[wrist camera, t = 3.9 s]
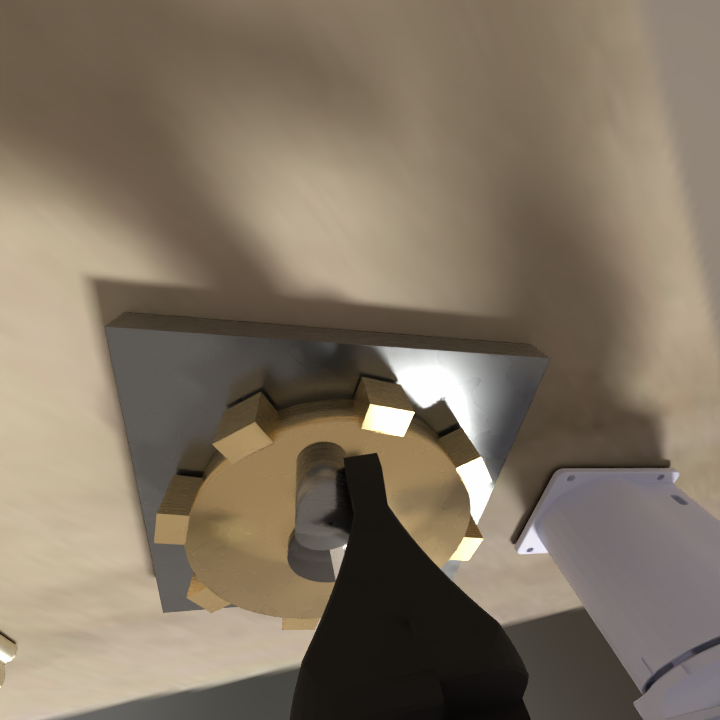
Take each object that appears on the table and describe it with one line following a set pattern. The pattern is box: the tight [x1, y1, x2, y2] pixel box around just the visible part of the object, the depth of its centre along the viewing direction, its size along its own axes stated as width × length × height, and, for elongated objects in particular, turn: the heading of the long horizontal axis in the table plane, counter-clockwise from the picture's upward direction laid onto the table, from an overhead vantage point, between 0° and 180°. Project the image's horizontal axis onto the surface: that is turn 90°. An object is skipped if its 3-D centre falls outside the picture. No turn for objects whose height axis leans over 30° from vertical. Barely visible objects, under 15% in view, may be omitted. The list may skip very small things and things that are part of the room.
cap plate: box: [105, 312, 551, 613], centre depth 18 cm, size 18×18×2 cm
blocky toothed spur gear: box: [154, 377, 492, 630], centre depth 15 cm, size 15×15×5 cm
